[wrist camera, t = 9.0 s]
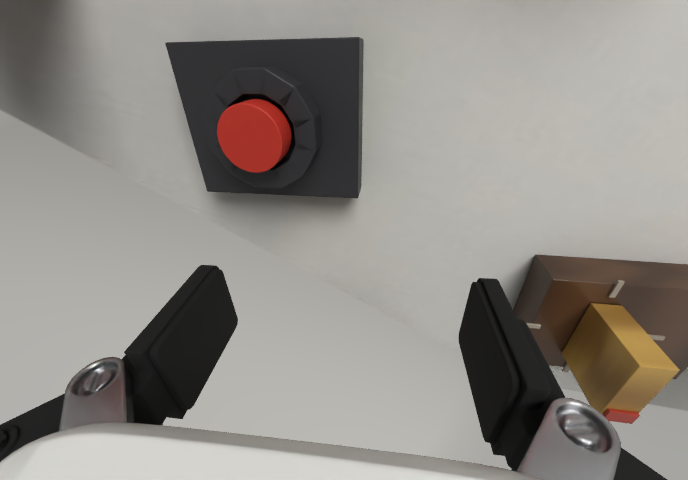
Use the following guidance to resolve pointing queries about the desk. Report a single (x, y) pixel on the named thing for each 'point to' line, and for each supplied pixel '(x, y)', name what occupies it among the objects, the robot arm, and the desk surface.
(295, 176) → the button box
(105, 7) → the desk surface
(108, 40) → the desk surface
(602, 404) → the handle
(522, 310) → the plate
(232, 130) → the button
